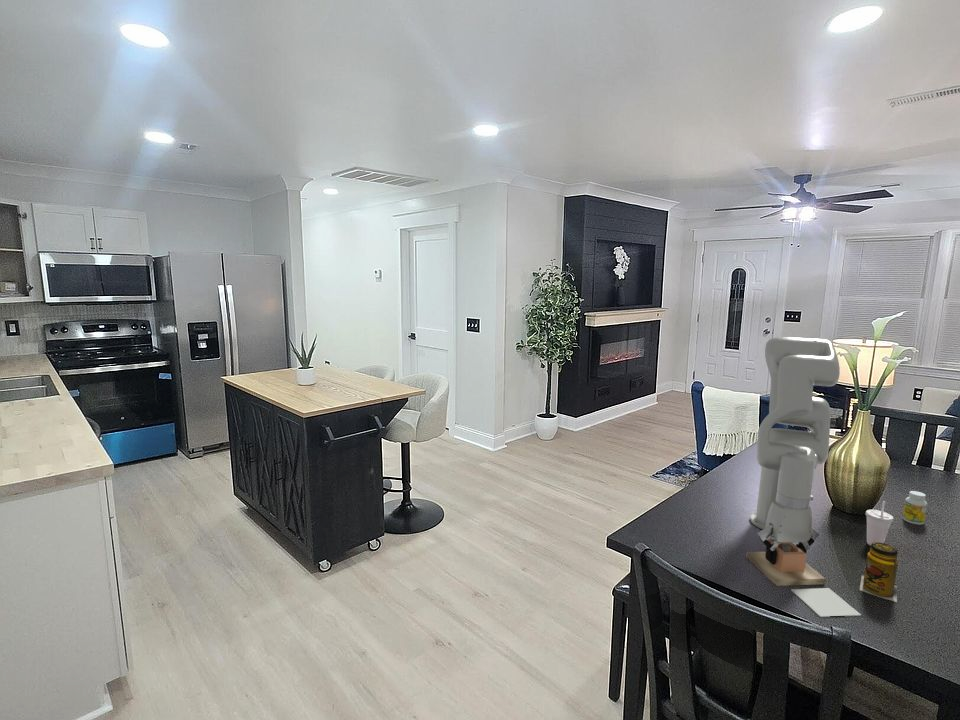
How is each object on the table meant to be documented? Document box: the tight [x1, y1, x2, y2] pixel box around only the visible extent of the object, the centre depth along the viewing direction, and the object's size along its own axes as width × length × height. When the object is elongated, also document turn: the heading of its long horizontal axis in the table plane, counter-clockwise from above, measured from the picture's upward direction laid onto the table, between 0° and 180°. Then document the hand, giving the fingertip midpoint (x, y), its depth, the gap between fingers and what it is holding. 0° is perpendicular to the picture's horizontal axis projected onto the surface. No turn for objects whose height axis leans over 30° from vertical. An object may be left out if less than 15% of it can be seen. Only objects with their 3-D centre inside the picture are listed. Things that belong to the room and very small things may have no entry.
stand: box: [745, 544, 826, 587], centre depth 134 cm, size 13×13×7 cm
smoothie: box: [865, 500, 894, 547], centre depth 146 cm, size 6×6×14 cm
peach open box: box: [771, 540, 807, 572], centre depth 133 cm, size 6×6×5 cm
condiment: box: [859, 542, 899, 603], centre depth 126 cm, size 7×8×12 cm
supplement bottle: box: [902, 490, 928, 526], centre depth 161 cm, size 5×5×10 cm
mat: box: [790, 587, 862, 618], centre depth 121 cm, size 10×10×1 cm
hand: (784, 560), depth 134 cm, fingers open, 7 cm apart
